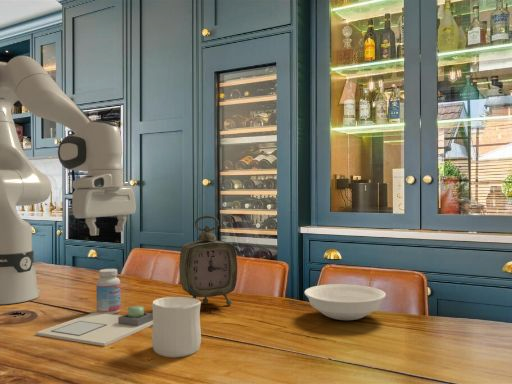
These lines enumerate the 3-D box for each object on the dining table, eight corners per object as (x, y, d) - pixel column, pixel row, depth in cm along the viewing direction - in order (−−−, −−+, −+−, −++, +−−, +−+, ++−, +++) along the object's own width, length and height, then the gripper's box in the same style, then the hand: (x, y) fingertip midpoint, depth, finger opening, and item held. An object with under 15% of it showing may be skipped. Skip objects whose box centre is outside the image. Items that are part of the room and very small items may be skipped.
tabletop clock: (186, 312, 120) (185, 217, 120) (178, 304, 128) (176, 215, 128) (237, 306, 126) (236, 215, 126) (226, 299, 134) (225, 214, 134)
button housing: (118, 323, 109) (118, 317, 109) (134, 317, 114) (134, 311, 114) (138, 326, 106) (138, 319, 106) (153, 319, 111) (153, 313, 111)
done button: (125, 318, 109) (125, 308, 109) (134, 315, 112) (134, 305, 112) (137, 320, 108) (137, 310, 108) (146, 316, 111) (146, 306, 111)
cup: (193, 359, 87) (192, 308, 87) (143, 357, 88) (142, 306, 88) (207, 343, 96) (206, 296, 96) (161, 340, 98) (161, 295, 98)
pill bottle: (113, 315, 118) (112, 272, 118) (92, 314, 119) (91, 271, 119) (125, 309, 124) (124, 268, 124) (104, 308, 125) (103, 267, 125)
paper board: (35, 334, 103) (35, 331, 103) (94, 314, 119) (94, 311, 119) (104, 346, 95) (104, 342, 95) (157, 322, 111) (157, 319, 111)
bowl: (391, 311, 118) (391, 287, 118) (378, 334, 100) (377, 305, 100) (318, 304, 127) (317, 281, 127) (293, 324, 109) (292, 297, 109)
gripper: (122, 182, 132) (124, 230, 132) (67, 181, 113) (68, 237, 113) (140, 181, 129) (142, 230, 129) (86, 180, 111) (88, 237, 111)
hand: (107, 233), depth 121 cm, fingers open, 8 cm apart
